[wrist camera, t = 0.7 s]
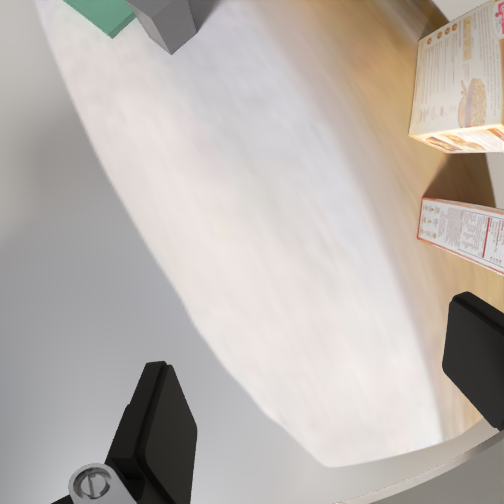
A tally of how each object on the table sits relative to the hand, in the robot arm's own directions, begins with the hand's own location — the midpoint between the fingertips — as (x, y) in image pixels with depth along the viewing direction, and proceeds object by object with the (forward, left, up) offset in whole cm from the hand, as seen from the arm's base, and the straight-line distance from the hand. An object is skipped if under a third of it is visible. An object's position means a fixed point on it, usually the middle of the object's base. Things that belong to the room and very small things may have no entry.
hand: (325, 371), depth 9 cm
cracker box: (-20, +19, -27) cm, 39 cm away
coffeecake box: (-29, +4, -27) cm, 40 cm away
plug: (-9, -23, -27) cm, 37 cm away
